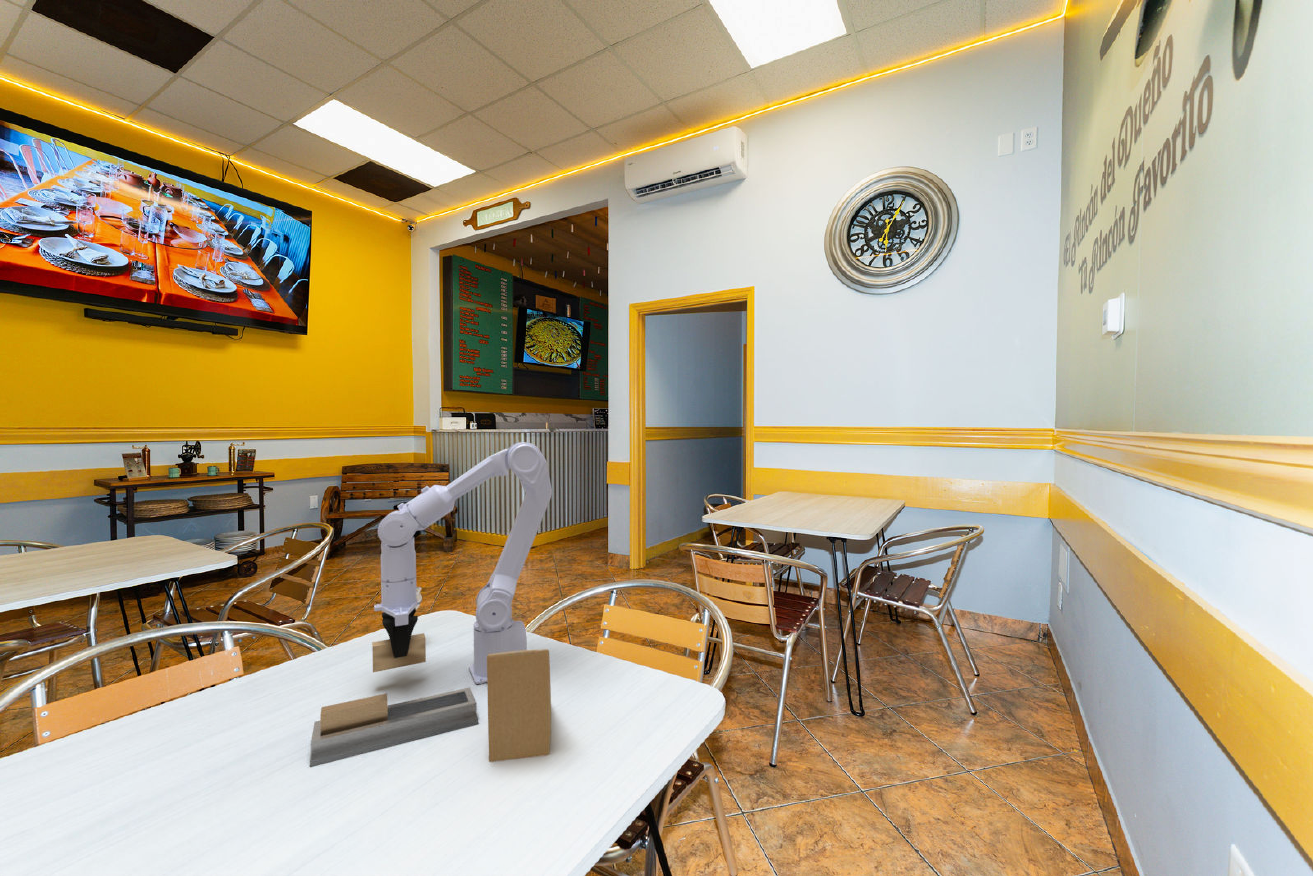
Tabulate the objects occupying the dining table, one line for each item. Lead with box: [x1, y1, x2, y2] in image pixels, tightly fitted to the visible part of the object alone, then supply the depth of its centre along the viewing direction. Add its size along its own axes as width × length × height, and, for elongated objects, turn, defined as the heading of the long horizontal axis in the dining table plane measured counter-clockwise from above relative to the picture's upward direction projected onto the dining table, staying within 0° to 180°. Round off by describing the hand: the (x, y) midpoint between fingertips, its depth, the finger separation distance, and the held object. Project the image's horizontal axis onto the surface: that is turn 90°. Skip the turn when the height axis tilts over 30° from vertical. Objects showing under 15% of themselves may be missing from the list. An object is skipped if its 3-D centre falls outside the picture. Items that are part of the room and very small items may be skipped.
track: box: [309, 687, 479, 767], centre depth 82 cm, size 22×9×5 cm, turn 119°
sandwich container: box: [486, 648, 552, 763], centre depth 81 cm, size 9×15×15 cm, turn 10°
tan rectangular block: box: [371, 632, 427, 673], centre depth 96 cm, size 8×2×4 cm, turn 119°
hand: (400, 653), depth 96 cm, fingers closed on tan rectangular block, 2 cm apart
